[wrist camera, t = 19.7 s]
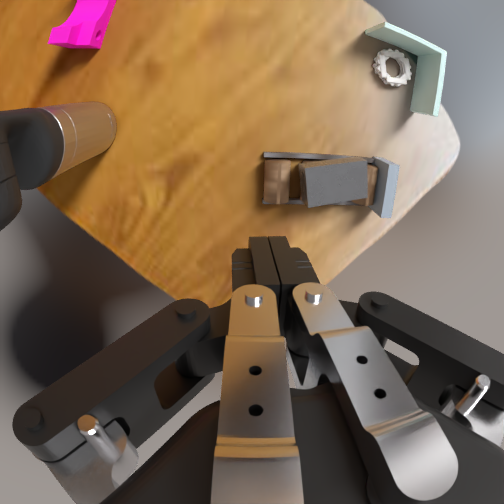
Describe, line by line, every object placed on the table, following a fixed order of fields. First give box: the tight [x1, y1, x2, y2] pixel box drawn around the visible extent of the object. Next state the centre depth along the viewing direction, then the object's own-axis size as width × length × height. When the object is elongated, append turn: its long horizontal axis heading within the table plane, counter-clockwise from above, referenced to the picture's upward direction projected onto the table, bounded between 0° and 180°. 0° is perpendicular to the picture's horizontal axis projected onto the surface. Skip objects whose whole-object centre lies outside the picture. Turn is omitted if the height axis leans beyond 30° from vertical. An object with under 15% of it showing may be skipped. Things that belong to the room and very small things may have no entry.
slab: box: [298, 156, 368, 208], centre depth 43 cm, size 10×6×3 cm, turn 98°
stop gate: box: [368, 157, 399, 218], centre depth 47 cm, size 2×9×6 cm, turn 179°
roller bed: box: [262, 152, 378, 206], centre depth 47 cm, size 19×8×4 cm, turn 89°
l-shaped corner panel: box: [365, 22, 447, 117], centre depth 37 cm, size 12×12×8 cm
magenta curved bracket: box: [48, 0, 116, 49], centre depth 28 cm, size 15×6×8 cm, turn 164°
